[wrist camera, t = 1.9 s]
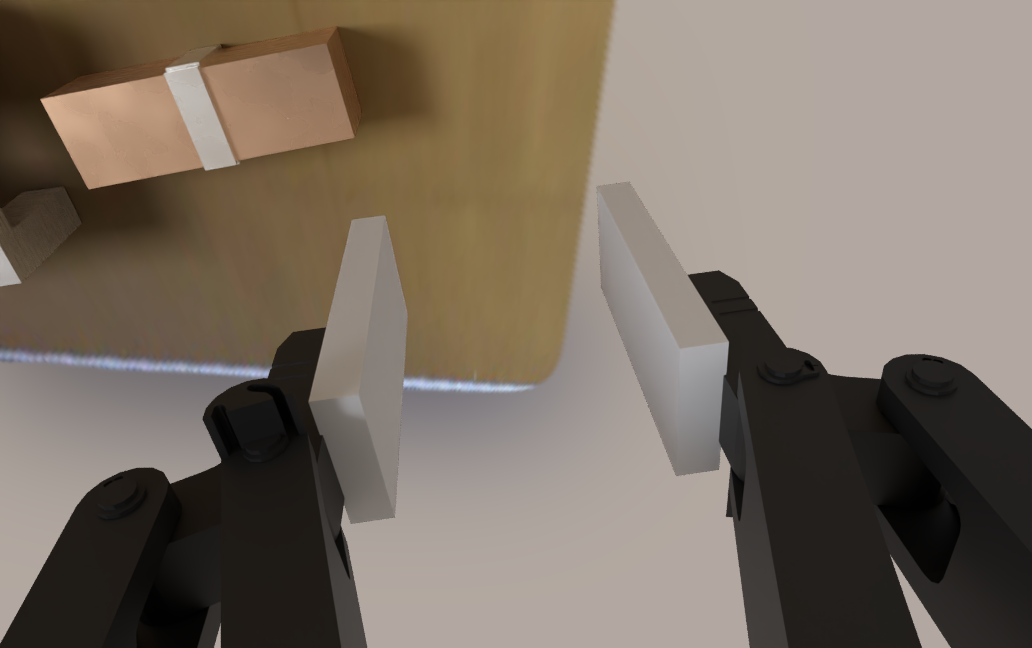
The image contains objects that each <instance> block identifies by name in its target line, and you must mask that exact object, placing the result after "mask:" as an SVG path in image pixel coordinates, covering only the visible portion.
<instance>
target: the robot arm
mask: <svg viewBox="0 0 1032 648" xmlns="http://www.w3.org/2000/svg"><path fill="white" fill-rule="evenodd" d="M597 201H598V224H599V246H600V270H601V288H602V290H603V293H604V296H605V298H606V300H607V303H608V306H609V308H610V311H611V313H612V316H613V318H614V321H615V323H616V326H617V328H618V331H619V333H620V336H621V338H622V341H623V344H624V346H625V349H626V351H627V353H628V356H629V359H630V361H631V364H632V366H633V369H634V371H635V374H636V376H637V379H638V381H639V384H640V386H641V389H642V391H643V394H644V396H645V399H646V402H647V404H648V407H649V409H650V412H651V414H652V416H653V419H654V422H655V424H656V427H657V429H658V432H659V434H660V437H661V439H662V442H663V444H664V447H665V449H666V452H667V454H668V457H669V459H670V462H671V464H672V467H673V469H674V472H675V475H676V476H679V475H686V474H693V473H700V472H707V471H713V470H719V463H720V450H721V447H722V449H723V451H724V453H725V455H726V457H727V459H728V461H729V463H730V465H731V468H730V479H729V490H728V502H727V513H726V517H733V522H734V528H735V537H736V545H737V552H738V560H739V567H740V576H741V584H742V591H743V598H744V607H745V614H746V622H747V630H748V638H749V645H750V648H922V646H921V644H920V641H919V638H918V635H917V632H916V629H915V626H914V623H913V620H912V618H911V614H910V612H909V609H908V606H907V603H906V600H905V597H904V594H903V591H902V588H901V585H900V582H899V580H898V577H897V574H896V571H895V568H894V565H893V562H892V559H891V557H892V558H893V560H894V561H895V563H896V564H897V566H898V567H899V569H900V570H901V572H902V573H903V575H904V576H905V578H906V580H907V581H908V582H909V584H910V586H911V587H912V589H913V590H914V592H915V593H916V595H917V596H918V598H919V599H920V601H921V602H922V604H923V605H924V607H925V609H926V610H927V612H928V613H929V615H930V616H931V618H932V619H933V621H934V622H935V624H936V626H937V627H938V629H939V630H940V632H941V633H942V635H943V636H944V638H945V639H946V641H947V642H948V644H949V645H950V647H951V648H1032V429H1031V428H1030V427H1029V426H1028V425H1027V424H1026V423H1025V422H1024V421H1023V420H1022V419H1021V418H1020V417H1018V415H1016V414H1015V413H1014V412H1013V411H1012V410H1011V409H1010V408H1009V407H1008V406H1007V405H1006V404H1005V403H1004V402H1003V401H1002V400H1000V398H999V397H998V396H996V395H995V394H994V393H993V392H992V391H991V390H990V389H989V388H988V387H987V386H986V385H985V384H984V383H983V382H982V381H981V380H979V378H978V377H977V376H975V375H974V374H973V373H972V372H970V371H969V370H967V369H966V368H964V367H963V366H962V365H960V364H958V363H955V362H952V361H950V360H947V359H944V358H942V357H937V356H931V355H925V354H915V355H914V354H911V355H903V356H900V357H896V358H893V359H892V360H890V361H889V362H888V363H887V364H886V365H884V368H883V373H882V377H881V379H871V378H857V377H844V376H837V375H831V374H828V373H827V371H826V369H825V368H824V366H823V365H822V363H821V362H820V361H819V360H817V359H816V358H814V357H813V356H811V355H810V354H808V353H805V352H802V351H799V350H796V349H793V348H787V347H786V346H785V345H784V343H783V342H782V340H781V339H780V338H779V336H778V335H777V334H776V332H775V331H774V329H773V328H772V327H771V325H770V324H769V323H768V321H767V320H766V319H765V317H764V316H763V315H762V313H761V312H760V311H758V308H757V306H756V305H755V304H754V302H753V301H752V300H751V299H749V296H748V294H747V293H746V292H745V290H744V289H743V287H742V286H741V285H740V283H739V282H738V281H736V280H735V279H733V278H731V277H729V276H728V275H726V274H724V273H722V272H721V271H719V270H718V271H712V272H705V273H697V274H690V275H687V274H686V272H685V271H684V269H683V268H682V266H681V264H680V262H679V261H678V259H677V258H676V256H675V254H674V253H673V251H672V250H671V248H670V246H669V245H668V243H667V242H666V240H665V239H664V237H663V235H662V234H661V232H660V230H659V229H658V227H657V226H656V224H655V223H654V221H653V219H652V218H651V216H650V214H649V213H648V211H647V209H646V208H645V206H644V205H643V203H642V201H641V200H640V198H639V197H638V195H637V193H636V192H635V190H634V189H633V187H632V186H631V184H630V182H624V183H616V184H609V185H602V186H597ZM407 318H408V314H407V310H406V305H405V301H404V296H403V292H402V288H401V283H400V279H399V274H398V270H397V266H396V261H395V257H394V252H393V248H392V244H391V239H390V235H389V230H388V226H387V222H386V217H385V215H383V216H376V217H368V218H361V219H354V220H352V222H351V227H350V231H349V235H348V239H347V243H346V247H345V252H344V256H343V260H342V264H341V268H340V272H339V277H338V281H337V285H336V289H335V293H334V297H333V302H332V306H331V310H330V314H329V318H328V323H327V327H326V328H319V329H312V330H305V331H297V332H293V333H292V334H291V335H290V336H289V337H288V338H287V339H286V340H285V341H284V342H283V343H282V344H281V345H280V346H279V347H278V349H277V351H276V354H275V357H274V360H273V363H272V369H271V370H270V373H269V376H268V379H266V378H262V379H256V380H251V381H246V382H244V383H241V384H239V385H236V386H233V387H231V388H229V389H228V390H226V391H225V392H223V393H221V394H220V395H218V396H217V397H216V398H215V399H214V400H213V401H212V402H211V403H210V404H209V405H208V407H207V408H206V410H205V413H204V416H203V421H204V423H205V425H206V428H207V430H208V432H209V434H210V436H211V438H212V441H213V443H214V445H215V447H216V449H217V451H218V453H219V456H220V458H221V463H220V464H218V465H217V466H215V467H213V468H210V469H208V470H206V471H204V472H201V473H199V474H196V475H193V476H190V477H188V478H185V479H183V480H180V481H177V482H174V483H171V484H170V483H169V481H168V479H167V477H166V476H165V474H164V473H163V472H162V471H159V470H157V469H154V468H135V469H131V470H128V471H124V472H120V473H118V474H116V475H114V476H112V477H110V478H108V479H106V480H104V481H102V482H101V483H99V484H98V485H97V486H96V487H94V488H93V489H92V490H90V491H89V492H88V493H87V494H86V495H85V496H84V498H83V499H82V500H81V501H80V503H79V504H78V505H77V506H76V508H75V510H74V512H73V514H72V515H71V517H70V519H69V521H68V523H67V524H66V526H65V528H64V530H63V532H62V534H61V535H60V537H59V539H58V541H57V542H56V544H55V546H54V548H53V549H52V551H51V553H50V555H49V557H48V558H47V560H46V562H45V564H44V566H43V568H42V569H41V571H40V573H39V575H38V577H37V579H36V580H35V582H34V584H33V586H32V587H31V589H30V591H29V593H28V595H27V596H26V598H25V600H24V602H23V604H22V605H21V607H20V609H19V611H18V613H17V614H16V616H15V618H14V620H13V622H12V623H11V625H10V627H9V629H8V631H7V633H6V634H5V636H4V638H3V640H2V642H1V643H0V648H214V645H215V642H216V637H217V634H218V631H219V627H220V623H221V648H367V644H366V638H365V633H364V628H363V623H362V618H361V613H360V607H359V602H358V597H357V592H356V586H355V581H354V576H353V571H352V566H351V561H350V556H349V550H348V545H347V541H346V538H345V536H344V533H343V530H342V527H341V519H342V513H343V506H344V505H345V508H346V511H347V514H348V517H349V520H350V522H351V524H353V523H360V522H367V521H373V520H380V519H387V518H393V517H395V507H396V491H397V475H398V460H399V443H400V426H401V412H402V395H403V381H404V365H405V349H406V333H407ZM890 555H891V556H890Z"/></svg>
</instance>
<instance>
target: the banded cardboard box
mask: <svg viewBox="0 0 1032 648" xmlns="http://www.w3.org/2000/svg"><path fill="white" fill-rule="evenodd" d="M40 100H41V102H42V104H43V106H44V107H45V109H46V111H47V113H48V115H49V117H50V119H51V120H52V122H53V124H54V126H55V128H56V130H57V132H58V133H59V135H60V137H61V139H62V141H63V143H64V145H65V146H66V148H67V150H68V152H69V154H70V156H71V158H72V159H73V161H74V163H75V165H76V167H77V169H78V171H79V172H80V174H81V176H82V178H83V180H84V182H85V184H86V185H87V187H88V189H93V188H98V187H103V186H109V185H114V184H119V183H124V182H129V181H134V180H139V179H145V178H150V177H155V176H160V175H165V174H170V173H176V172H181V171H186V170H191V169H196V168H201V167H204V168H205V171H206V170H212V169H217V168H222V167H227V166H233V165H238V164H240V163H241V161H242V160H243V159H248V158H253V157H258V156H263V155H269V154H274V153H279V152H284V151H289V150H294V149H300V148H305V147H310V146H315V145H320V144H325V143H331V142H336V141H341V140H346V139H351V138H355V135H356V131H357V128H358V125H359V121H360V118H361V115H362V112H361V108H360V105H359V101H358V98H357V94H356V91H355V87H354V84H353V80H352V77H351V73H350V70H349V66H348V63H347V59H346V56H345V52H344V49H343V45H342V42H341V38H340V35H339V31H338V28H337V27H331V28H326V29H321V30H316V31H311V32H306V33H301V34H296V35H290V36H285V37H280V38H275V39H270V40H265V41H260V42H255V43H249V44H244V45H239V46H234V47H229V48H224V49H222V47H221V44H218V45H213V46H208V47H203V48H198V49H193V50H189V51H188V52H187V53H185V54H184V55H183V56H181V57H178V58H172V59H167V60H162V61H157V62H152V63H147V64H142V65H137V66H131V67H126V68H121V69H116V70H111V71H106V72H101V73H96V74H90V75H85V76H80V77H78V78H76V79H74V80H72V81H71V82H69V83H67V84H66V85H64V86H62V87H60V88H59V89H57V90H55V91H54V92H52V93H50V94H48V95H47V96H45V97H43V98H41V99H40Z"/></svg>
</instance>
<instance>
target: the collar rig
mask: <svg viewBox="0 0 1032 648" xmlns="http://www.w3.org/2000/svg"><path fill="white" fill-rule="evenodd" d="M81 224H82V222H81V220H80V218H79V216H78V214H77V212H76V210H75V208H74V206H73V204H72V202H71V200H70V198H69V196H68V194H67V191H66V189H65V187H64V186H61V187H54V188H47V189H39V190H32V191H24V192H22V193H21V194H19V195H18V196H17V197H16V198H14V199H13V200H12V201H10V202H9V203H8V204H7V205H5V206H4V207H3V208H0V286H5V285H12V284H19V283H22V282H23V281H24V280H25V279H26V278H27V277H28V276H29V275H30V274H31V273H32V272H33V271H34V270H35V269H36V268H37V267H38V266H39V265H40V264H41V263H42V262H43V261H44V260H45V259H46V258H47V257H48V256H49V255H50V254H51V253H52V252H53V251H54V250H55V249H56V248H57V247H58V246H59V245H60V244H61V243H62V242H63V241H64V240H65V239H66V238H67V237H68V236H69V235H70V234H71V233H73V232H74V231H75V230H76V229H77V228H78V227H79V226H80V225H81Z"/></svg>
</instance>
